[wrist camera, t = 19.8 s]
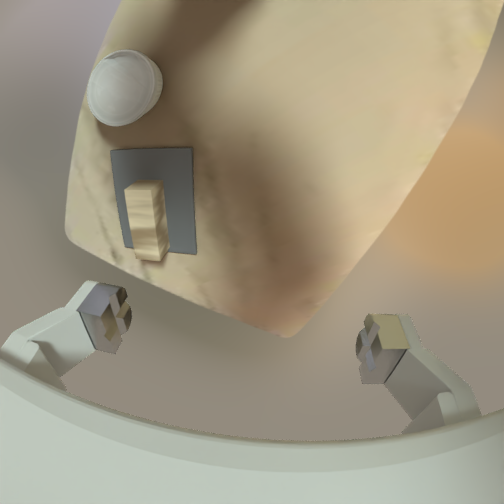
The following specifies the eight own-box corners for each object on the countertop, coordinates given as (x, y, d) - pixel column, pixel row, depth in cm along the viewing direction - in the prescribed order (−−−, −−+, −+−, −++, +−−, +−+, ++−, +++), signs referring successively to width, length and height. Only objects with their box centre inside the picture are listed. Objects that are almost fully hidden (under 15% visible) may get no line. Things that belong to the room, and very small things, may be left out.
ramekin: (174, 50, 31) (159, 46, 27) (166, 123, 37) (150, 128, 33) (109, 54, 31) (89, 53, 27) (104, 120, 37) (84, 126, 33)
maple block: (160, 261, 44) (151, 190, 38) (136, 258, 45) (124, 189, 38) (169, 246, 48) (162, 180, 42) (146, 244, 48) (137, 179, 42)
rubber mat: (111, 150, 40) (110, 150, 40) (192, 147, 39) (191, 148, 39) (126, 245, 50) (125, 247, 49) (197, 252, 49) (196, 254, 48)
